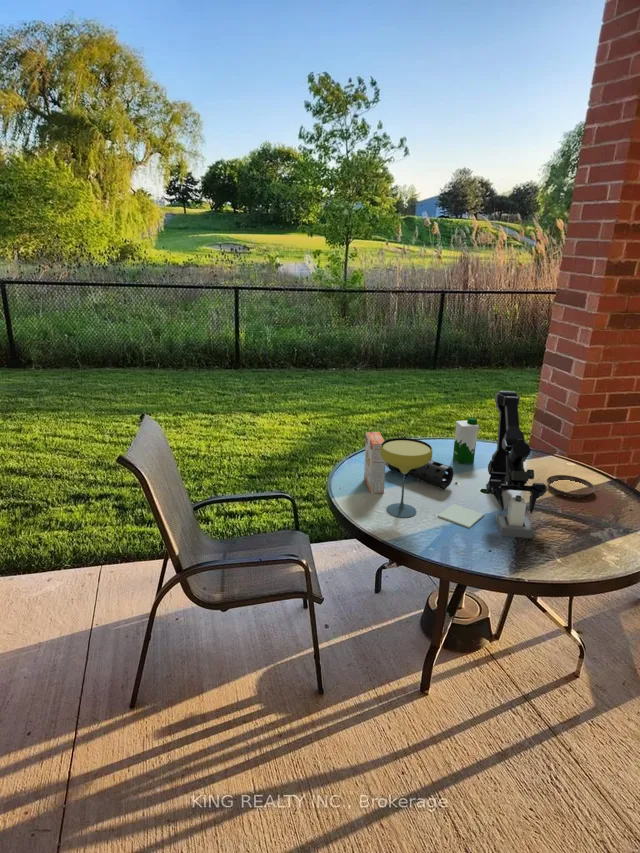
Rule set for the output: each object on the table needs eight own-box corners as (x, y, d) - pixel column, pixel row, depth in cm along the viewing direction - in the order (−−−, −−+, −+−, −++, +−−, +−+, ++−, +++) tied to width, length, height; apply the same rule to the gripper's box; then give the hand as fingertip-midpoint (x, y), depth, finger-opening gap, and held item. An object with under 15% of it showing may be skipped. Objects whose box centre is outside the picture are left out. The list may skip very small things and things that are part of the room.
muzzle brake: (440, 494, 203) (442, 469, 200) (382, 473, 222) (384, 450, 218) (452, 486, 210) (455, 463, 207) (395, 467, 228) (397, 445, 225)
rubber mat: (453, 505, 194) (453, 503, 194) (484, 515, 187) (484, 514, 187) (437, 516, 185) (437, 515, 185) (469, 528, 178) (469, 526, 178)
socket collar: (496, 521, 183) (497, 513, 182) (525, 523, 182) (526, 516, 181) (500, 535, 174) (502, 527, 173) (532, 538, 173) (533, 530, 172)
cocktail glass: (370, 517, 184) (374, 451, 176) (383, 496, 200) (387, 434, 192) (421, 527, 178) (427, 459, 170) (430, 504, 194) (436, 442, 186)
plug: (505, 525, 180) (510, 493, 176) (518, 527, 180) (524, 494, 176) (508, 532, 176) (513, 498, 172) (521, 533, 176) (527, 499, 172)
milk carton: (476, 464, 233) (481, 421, 226) (456, 464, 232) (461, 422, 225) (468, 456, 241) (473, 415, 235) (450, 457, 240) (454, 416, 234)
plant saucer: (571, 503, 198) (572, 496, 197) (535, 485, 213) (536, 478, 212) (603, 496, 205) (605, 489, 204) (567, 478, 220) (568, 472, 219)
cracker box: (363, 479, 215) (365, 431, 208) (377, 479, 216) (380, 431, 209) (368, 494, 202) (371, 443, 195) (384, 493, 202) (387, 443, 196)
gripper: (491, 457, 176) (493, 501, 169) (549, 461, 173) (553, 506, 166) (485, 470, 186) (486, 512, 179) (540, 474, 183) (543, 517, 176)
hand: (517, 511), depth 175 cm, fingers open, 9 cm apart
